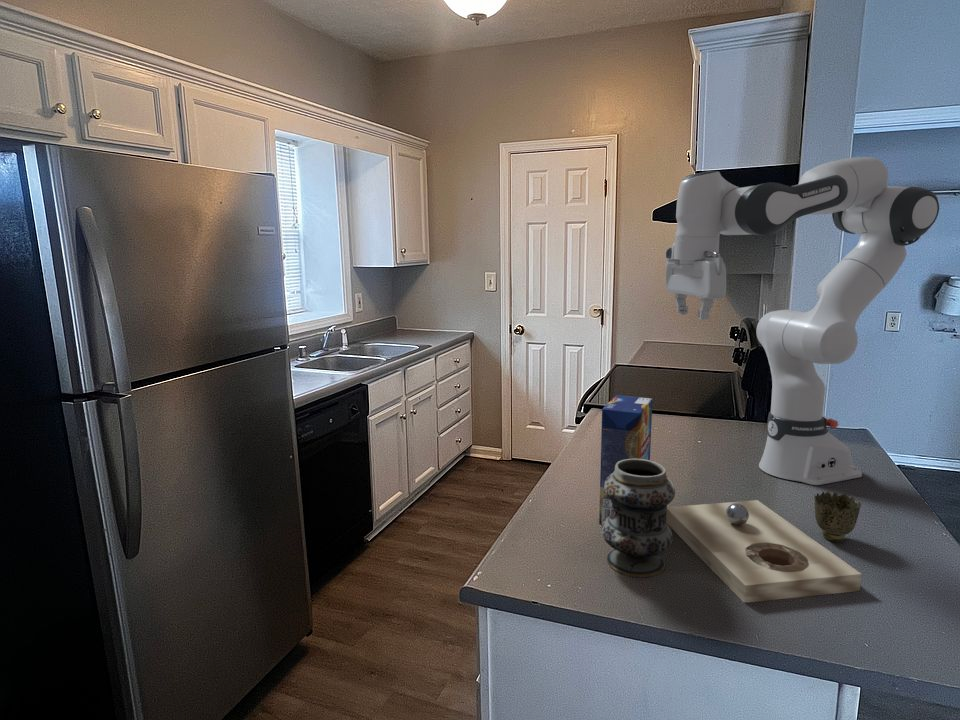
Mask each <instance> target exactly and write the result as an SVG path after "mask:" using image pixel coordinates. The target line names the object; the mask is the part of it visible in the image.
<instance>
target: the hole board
mask: <svg viewBox="0 0 960 720" xmlns="http://www.w3.org/2000/svg"><path fill="white" fill-rule="evenodd" d="M734 503H738V504H742V505H743V506H745V507H746V508H747V510H748V512H749V518H748V521H747V522H746V523H745V524H743V525H735V524H732V523H731V522H730V521H729V520H728V519H727V517H726V510H727V508H728V506H730V505H731V504H734ZM666 524H667V525H668V526H669V528H670V529H671V530H673V531H674V532H675V533H676V535H677V536H679V538H680V539H682V541H683V542H684V543H685V544H687V546H688V547H689V548H690V550H692V551H693V552H694V553H695V554H696V555H697V556H698V557H699V558H700V559H701V560H702V562H704V563H705V565H706V566H708V568H709V569H710V570H711V571H713V573H714V574H715V575H716V576H717V577H718V578H719V579H720V580H721V581H722V582H723V583H724V584H725V585H726V586H727V587H728V589H730V590H731V591H732V592H733V593H734V594H735V596H737V597H738V598H739V599H740V600H741V602H743V604H744V603H755V602H756V603H757V602H764V601H765V602H766V601H767V602H768V601H774V600H783V599H785V600H786V599H794V598H804V597H813V596H822V595H833V594H834V595H835V594H841V593H851V592H860V590H861V582H862V576H863V575H862V574H863V573H861V572H859V571H858V570H857V569H856V568H854V567H853V566H851V565H849V564H848V563H847V562H846V561H844V560H842V559H841V558H840V557H839V556H837V555H836V554H834V553H832V552H831V551H830V550H829V549H827V548H826V547H824V546H823V545H821V544H820V543H818V542H817V541H816V540H814V539H813V538H812V537H810V536H809V535H808V534H806V533H804V532H803V531H802V530H800V529H799V528H797V527H796V526H795V525H793V524H792V523H790V522H789V521H787V520H786V519H784V518H783V517H782V516H780V515H779V514H777V513H776V512H775V511H773V510H772V509H771V508H770V507H768V506H767V505H765V504H763V503H762V502H761V501H759V500H758V499H755V500H742V501H729V502H716V503H704V504H703V503H702V504H692V505H691V504H688V505H679V506H677V505H676V506H667V512H666Z"/></svg>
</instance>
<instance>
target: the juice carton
mask: <svg viewBox="0 0 960 720" xmlns="http://www.w3.org/2000/svg"><path fill="white" fill-rule="evenodd" d="M652 417H653V398H650V397H642V396H640V397H639V396H631V395H630V396H629V395H621V394H616V395H615V396H613V398H612V399H611V400H610V401H609V402H608V403H606V405H604V406H603V408H602V409H601V432H600V433H601V435H600V436H601V443H600V472H599V473H600V477H599V480H600V481H599V515H598V516H599V518H598V524H601V525H602V524H603V522H604V521H605V520H606V518H608V517H609V514H610V504H611V499H610V498H609V497H608V495H607V494H606V492H605V489H604V484H605V480H606V479H607V477H608V476H609V475H610V474H612V473H614V470H615V465H616V463H617V462H618V461H621V460H624V459H645V460H650V461H651V447H652V446H651V445H652V444H651V443H652V422H653V421H652V420H653V419H652Z"/></svg>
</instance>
